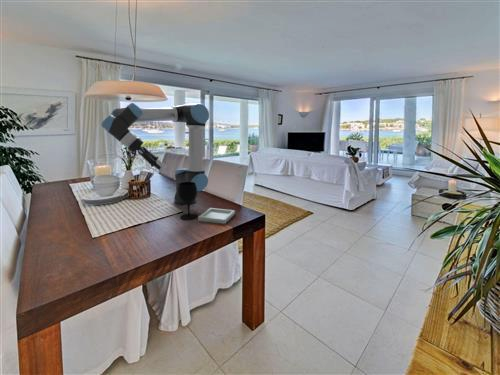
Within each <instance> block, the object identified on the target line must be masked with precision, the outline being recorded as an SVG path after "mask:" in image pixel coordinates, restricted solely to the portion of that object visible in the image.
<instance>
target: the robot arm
mask: <svg viewBox="0 0 500 375" xmlns="http://www.w3.org/2000/svg"><path fill="white" fill-rule="evenodd" d="M209 119H210V112H209V109H208V108H207V107H206V106H205V104H203V103H200V102H199V103H198V102H194V103H186V104H182V105H172V106H171V107H147V108H146V107H140V106H139V105H138V104H136V103H134V102H131V103H129V104H127V106H126V107H121V108H115V109H113V110H112V111H111V113H110V115H108V116H107V117H106V118H105V119H104V120H103V121H102V122H101V127H102V128H103V129H104V130H105V131H106V132H107V133H109V134H110V135H111V136H112V137H114V139H115V140H116V141H117V140H118V142H120V144H121V146H125V148H127V149H128V150H129V151H131V152H132V153H135V152H136V151H137V153H138V154H139V156H141V157H142V158H143V159H145V161H146V162H147V163H148V164H150V167H151V168H155V169H157V171H159V172H160V173H161V174H162V175H165V174H166V173H167V172H168V170H167V168H168V166H167V165H166V164H165V163H163V161H162V160H161V159H159V157H158V156H157V155H155V154H153V153H152V152H150V151H149V150H148V149H147V148H146V147H145V146H143V144H144V141H143V140H142V139H140V138H139V137H138V136H137V135H136V134H135V133H134V132H133V131H132V130H130V129H129V128H130V127H131V126H132V125H134V123H139V122H140V123H143V122H144V123H146V122H147V123H151V122H168V121H170V122H173V123H185V126H186V128H188V167H186V168H178V169H175V170H174V178H175V194H174V197H173V200H174V201H173V202H174V204H178V205H187V204H186V203H185V202H183V201H182V200H181V199H180V197H179V194H178V187H179V184H180V183H182V182H194V183H195V184H196V187H197V192H201V191H203V190H205V188H207V186H208V184H209V178H208V176H207V175H206V174H205V173H206V170H205V169H204V167H203V161H204V160H203V157H204V156H203V155H204V154H203V153H204V151H203V149H204V148H203V146H204V145H203V142H204V141H203V140H204V138H203V137H204V136H203V135H204V129H205V128H206V123H207V122H208V121H209ZM195 202H197V197H196V198H195V200H194V201H193V202H191V203H190V204H194V203H195Z"/></svg>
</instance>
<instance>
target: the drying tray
mask: <svg viewBox="0 0 500 375" xmlns="http://www.w3.org/2000/svg"><path fill="white" fill-rule="evenodd" d="M235 215H236V210H234V209H225V208H224V209H223V208H214V207H209V208H208V209H206V210H205V211H204V212H202V214H200V215H198V218H197V220H198V222H204V223H205V222H206V223H213V224H220V223H221V224H222V225H226V224H227V223H228V222H229V221H230V220H231V219H233V217H234V216H235Z"/></svg>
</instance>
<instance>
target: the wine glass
mask: <svg viewBox="0 0 500 375" xmlns="http://www.w3.org/2000/svg"><path fill="white" fill-rule="evenodd" d="M178 194H179V197H180V199H181V200H182V201H183V202H185V203H186V204H185V205H187V213H183V214H181V215H180V216H179V219H181V221H193V220H197V219H198V216H199V215H198V214H196V213H192V212H191V211H190V210H191V209H190V208H191V207H190V205H191V204H192V203H191V202H193V201H194V200H195V198H196V199H197V196H198V191H197V187H196V184H195V183H194V182H182V183H180V184H179V187H178Z"/></svg>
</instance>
